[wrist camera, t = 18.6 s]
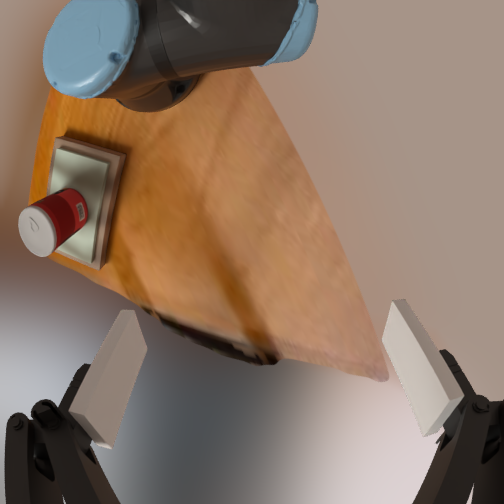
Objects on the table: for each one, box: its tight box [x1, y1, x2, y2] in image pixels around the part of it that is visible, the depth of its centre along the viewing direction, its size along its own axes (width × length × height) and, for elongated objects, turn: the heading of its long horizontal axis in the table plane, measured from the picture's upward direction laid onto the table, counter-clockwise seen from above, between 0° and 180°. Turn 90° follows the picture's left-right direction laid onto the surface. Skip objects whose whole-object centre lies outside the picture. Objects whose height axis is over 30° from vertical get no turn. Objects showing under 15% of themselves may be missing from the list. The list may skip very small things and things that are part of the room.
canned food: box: [19, 188, 88, 257], centre depth 38 cm, size 8×8×11 cm
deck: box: [47, 136, 126, 270], centre depth 45 cm, size 22×14×4 cm, turn 159°
